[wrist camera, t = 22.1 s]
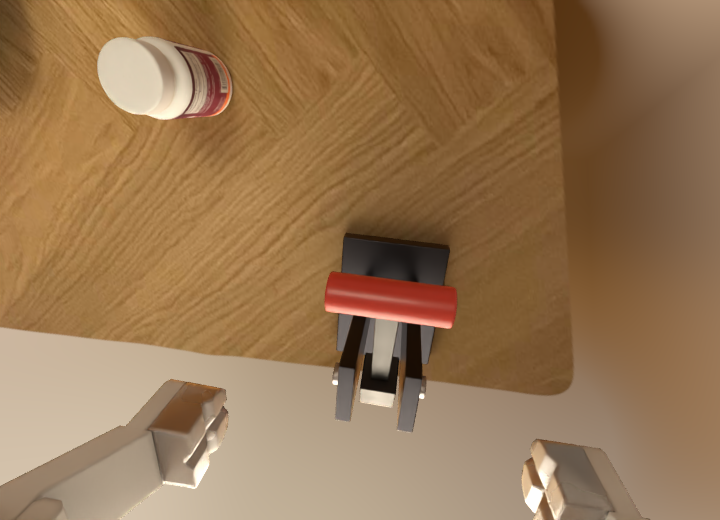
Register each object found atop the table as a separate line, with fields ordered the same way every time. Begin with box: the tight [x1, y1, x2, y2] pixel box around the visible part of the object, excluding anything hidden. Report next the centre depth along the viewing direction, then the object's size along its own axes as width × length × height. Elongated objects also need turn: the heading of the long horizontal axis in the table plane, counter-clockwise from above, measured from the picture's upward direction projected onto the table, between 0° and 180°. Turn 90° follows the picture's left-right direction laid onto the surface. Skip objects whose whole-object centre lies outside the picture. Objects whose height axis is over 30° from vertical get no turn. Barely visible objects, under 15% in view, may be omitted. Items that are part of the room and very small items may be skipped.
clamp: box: [332, 233, 450, 433], centre depth 28 cm, size 12×9×13 cm
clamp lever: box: [325, 271, 457, 408], centre depth 20 cm, size 12×6×2 cm, turn 176°
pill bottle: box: [97, 37, 232, 120], centre depth 24 cm, size 5×5×8 cm
